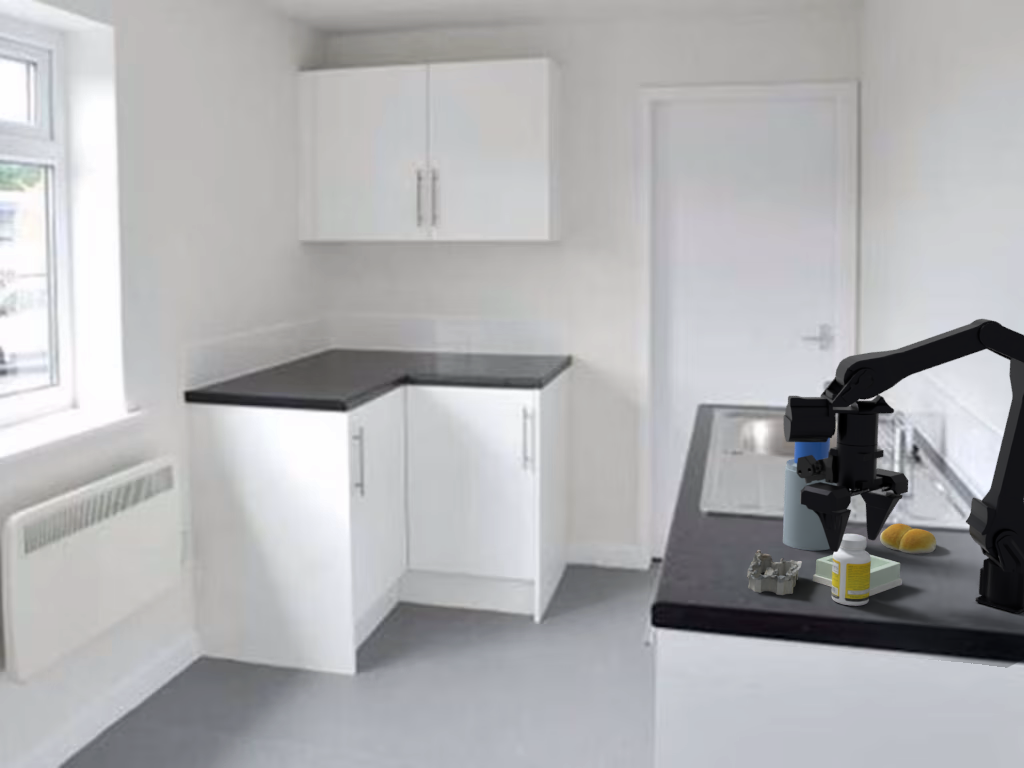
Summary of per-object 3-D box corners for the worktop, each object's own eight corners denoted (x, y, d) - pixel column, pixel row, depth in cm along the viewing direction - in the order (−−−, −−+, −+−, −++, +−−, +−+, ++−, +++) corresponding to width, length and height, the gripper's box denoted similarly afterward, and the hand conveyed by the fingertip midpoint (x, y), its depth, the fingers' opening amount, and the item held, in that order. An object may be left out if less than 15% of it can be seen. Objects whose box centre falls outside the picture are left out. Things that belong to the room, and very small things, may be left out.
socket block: (901, 584, 160) (902, 563, 159) (865, 597, 154) (866, 575, 154) (849, 569, 167) (850, 548, 167) (813, 581, 162) (813, 559, 161)
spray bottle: (807, 553, 176) (812, 410, 172) (772, 540, 184) (776, 402, 180) (845, 545, 180) (851, 405, 176) (809, 533, 188) (814, 398, 184)
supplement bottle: (875, 600, 153) (878, 537, 152) (857, 609, 149) (860, 544, 148) (842, 591, 157) (845, 529, 156) (824, 600, 153) (826, 537, 152)
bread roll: (922, 558, 173) (923, 535, 173) (873, 546, 180) (874, 524, 180) (945, 548, 179) (946, 526, 178) (897, 537, 185) (898, 516, 185)
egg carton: (756, 572, 167) (757, 547, 167) (803, 578, 164) (804, 553, 164) (742, 592, 158) (742, 566, 157) (791, 599, 155) (792, 572, 154)
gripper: (848, 427, 162) (845, 522, 164) (771, 442, 151) (768, 544, 153) (912, 437, 153) (907, 538, 155) (835, 454, 142) (831, 562, 144)
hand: (853, 545), depth 152 cm, fingers open, 9 cm apart
